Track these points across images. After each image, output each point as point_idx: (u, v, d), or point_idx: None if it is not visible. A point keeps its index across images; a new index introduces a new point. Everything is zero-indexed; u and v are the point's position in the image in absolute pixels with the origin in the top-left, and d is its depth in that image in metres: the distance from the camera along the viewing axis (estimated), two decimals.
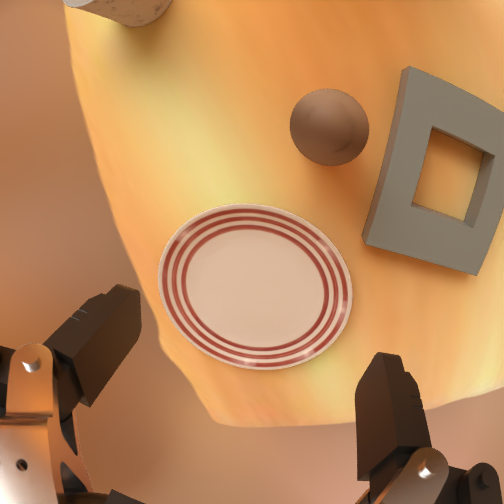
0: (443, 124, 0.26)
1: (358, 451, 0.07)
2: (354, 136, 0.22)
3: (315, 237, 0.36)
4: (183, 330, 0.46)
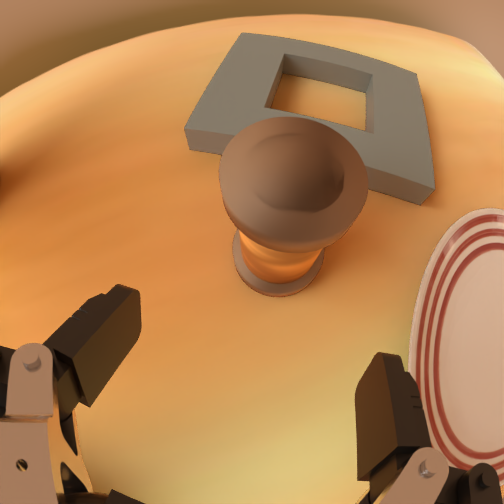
0: (259, 96, 0.25)
1: (358, 451, 0.07)
2: (309, 136, 0.13)
3: (442, 260, 0.20)
4: None
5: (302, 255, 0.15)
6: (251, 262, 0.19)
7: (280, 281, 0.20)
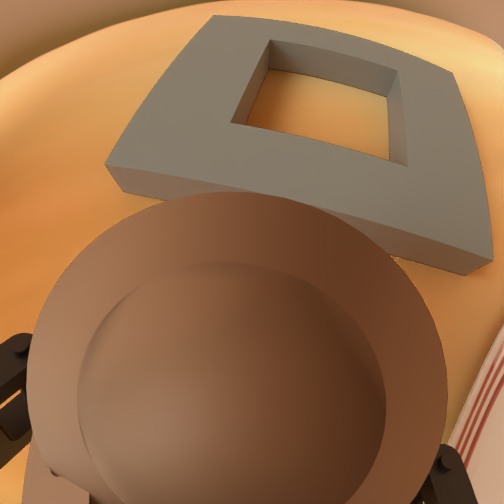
0: (225, 104, 0.16)
1: None
2: (286, 274, 0.04)
3: (490, 373, 0.11)
4: None
5: None
6: None
7: None
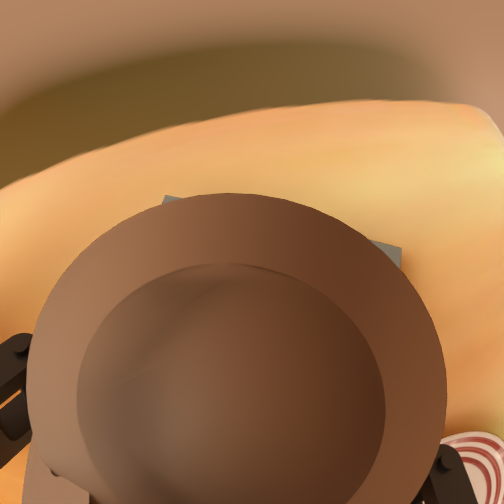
0: None
1: None
2: (285, 277, 0.04)
3: None
4: None
5: None
6: None
7: None
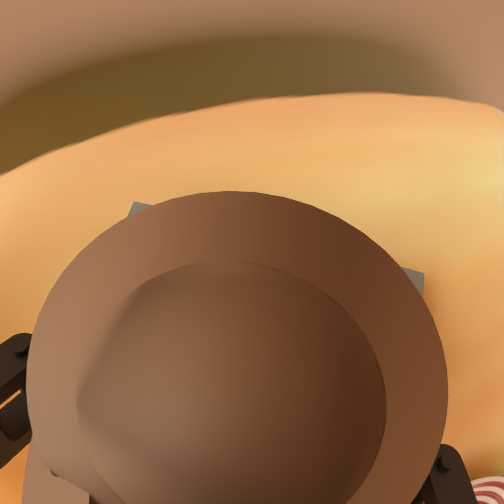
0: None
1: None
2: (286, 275, 0.04)
3: None
4: None
5: None
6: None
7: None
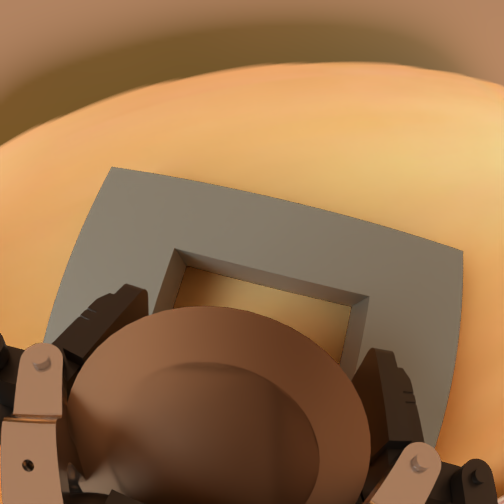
0: None
1: None
2: (248, 372, 0.05)
3: None
4: None
5: None
6: None
7: None
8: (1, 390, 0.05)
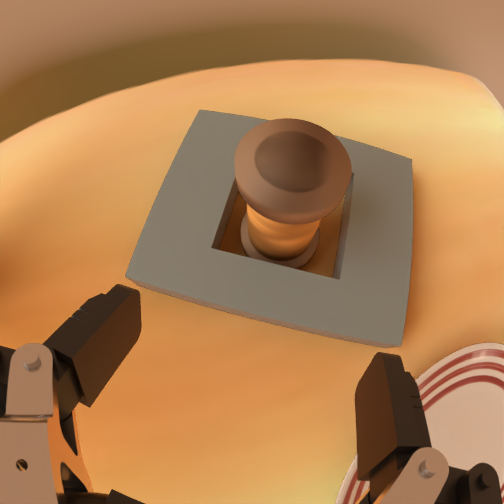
0: (207, 229, 0.23)
1: (358, 451, 0.07)
2: (305, 134, 0.17)
3: None
4: None
5: (300, 230, 0.19)
6: (257, 240, 0.22)
7: (281, 258, 0.23)
8: None
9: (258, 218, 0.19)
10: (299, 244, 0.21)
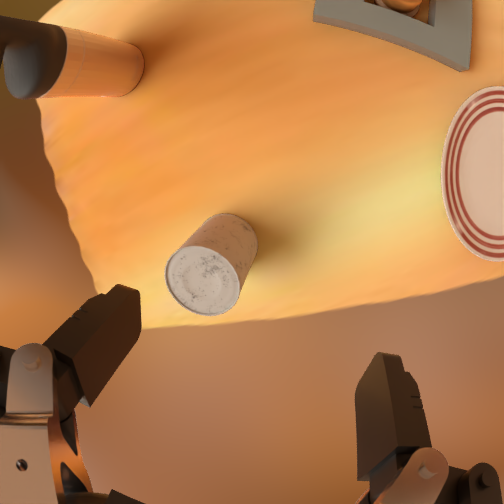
0: None
1: (358, 451, 0.07)
2: None
3: (466, 111, 0.29)
4: None
5: None
6: (390, 0, 0.24)
7: (401, 11, 0.25)
8: None
9: None
10: (413, 5, 0.23)
